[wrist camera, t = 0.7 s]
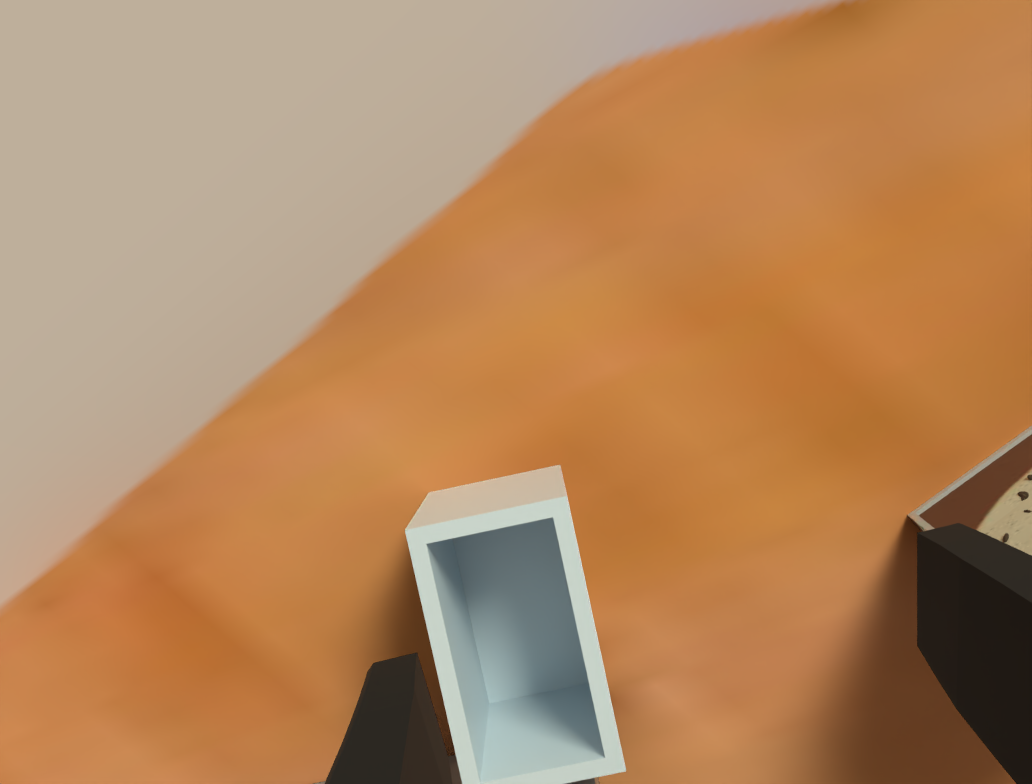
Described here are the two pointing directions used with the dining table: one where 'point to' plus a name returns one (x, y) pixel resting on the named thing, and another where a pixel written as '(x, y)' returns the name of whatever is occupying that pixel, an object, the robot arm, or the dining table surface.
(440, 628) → the small crate
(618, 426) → the dining table surface
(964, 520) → the food container
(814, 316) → the dining table surface
